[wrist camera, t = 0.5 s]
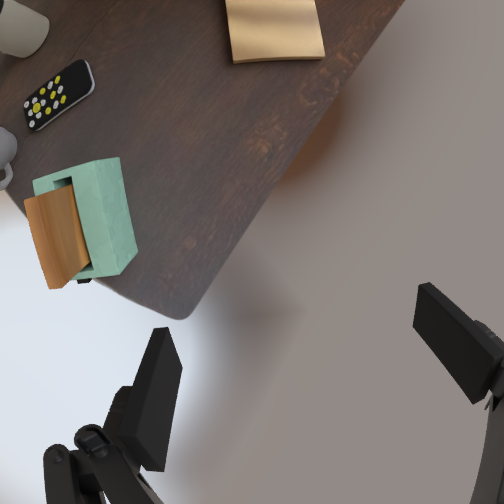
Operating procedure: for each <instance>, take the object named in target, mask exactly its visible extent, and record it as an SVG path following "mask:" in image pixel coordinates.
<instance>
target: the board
mask: <svg viewBox="0 0 504 504" xmlns="http://www.w3.org/2000/svg"><path fill="white" fill-rule="evenodd" d="M225 3H226V10H227V18H228V26H229V34H230V42H231V49H232V57H233V64H236V63H246V62H257V61H271V60H296V59H323V58H324V57H325V53H324V47H323V41H322V36H321V31H320V26H319V21H318V16H317V11H316V7H315V2H314V0H225Z"/></svg>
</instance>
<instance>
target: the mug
mask: <svg viewBox="0 0 504 504" xmlns="http://www.w3.org/2000/svg"><path fill="white" fill-rule="evenodd" d="M16 152H17V140H16V137H15V136H14V134H12V133H10V132H8V131H7V130H6V129H4V128H2V127H0V171H1V170H2V169H3V168H4V169H5V171H6V178H5V179H4V180H2V181H0V191H1V190H4V189H5V188H6V187H7V186H8V185H9V183H10V182H11V180H12V178H13V172H12V168H11V165H10V162H11V161H12V160H13V159H14V157H15V155H16Z"/></svg>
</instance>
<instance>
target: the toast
mask: <svg viewBox="0 0 504 504" xmlns="http://www.w3.org/2000/svg"><path fill="white" fill-rule="evenodd" d="M24 204H25V209H26V213H27V217H28V221H29V226H30V229H31V233H32V237H33V241H34V244H35V248H36V251H37V254H38V258H39V261H40V264H41V267H42V270H43V273H44V276H45V279H46V282H47V285H48V287H49V289H57V288H62V287H64V286H65V285H66V284H67V283H68V282H69V281H70V280H71V279H72V278H73V277H74V276H75V275H76V274H77V273H78V272H79V271H80V270H81V269H83V268H84V267H85V266H86V265H87V264H88V263H89V262H90V261H91V258H90V255H89V251H88V248H87V244H86V240H85V236H84V233H83V229H82V224H81V220H80V216H79V211H78V207H77V202H76V197H75V192H74V187H73V184H70V185H67V186H64V187H61V188H58V189H55V190H52V191H49V192H46V193H43V194H40V195H37V196H34V197H31V198H29V199H26V200H24Z"/></svg>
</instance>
